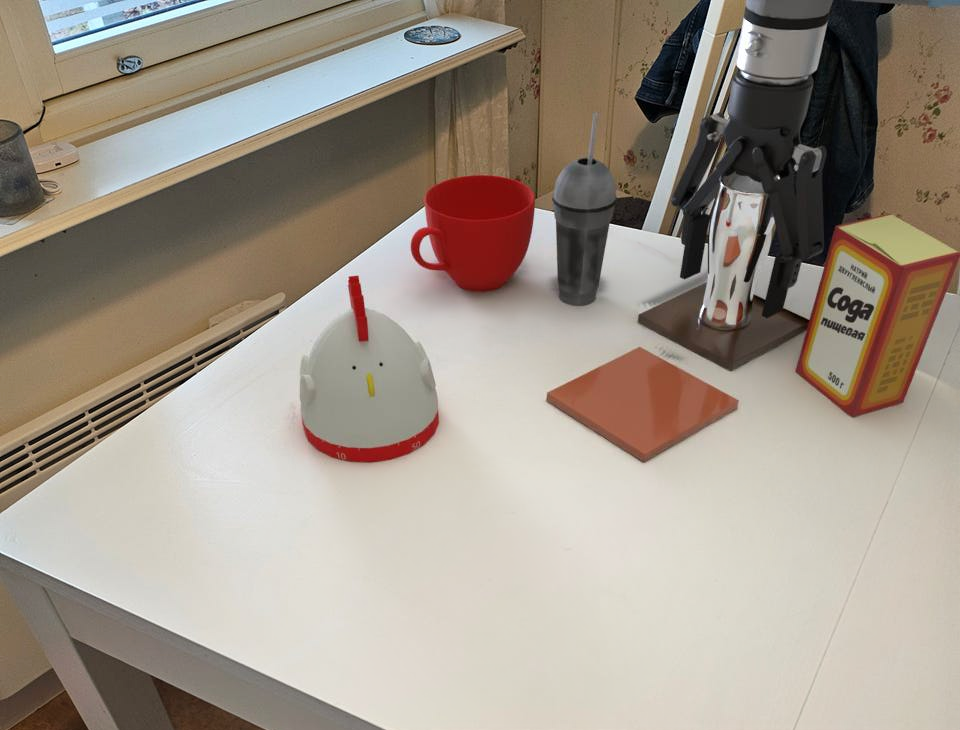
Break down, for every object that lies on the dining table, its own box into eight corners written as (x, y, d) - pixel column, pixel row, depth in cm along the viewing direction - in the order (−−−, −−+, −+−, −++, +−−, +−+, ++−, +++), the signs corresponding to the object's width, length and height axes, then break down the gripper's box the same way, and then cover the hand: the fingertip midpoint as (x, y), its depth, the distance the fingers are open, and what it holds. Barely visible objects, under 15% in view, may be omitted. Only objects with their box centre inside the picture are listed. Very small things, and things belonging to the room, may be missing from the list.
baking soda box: (795, 371, 97) (836, 221, 86) (843, 358, 99) (891, 209, 87) (852, 417, 92) (905, 263, 80) (903, 402, 93) (962, 249, 81)
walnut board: (810, 328, 103) (812, 320, 103) (731, 371, 98) (732, 363, 97) (716, 284, 111) (717, 276, 110) (637, 322, 105) (638, 314, 104)
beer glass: (695, 299, 106) (718, 165, 95) (755, 305, 105) (786, 169, 94) (692, 329, 102) (716, 191, 90) (755, 335, 101) (787, 196, 89)
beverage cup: (535, 300, 109) (542, 118, 94) (567, 276, 112) (578, 98, 98) (588, 317, 106) (603, 132, 91) (618, 292, 110) (637, 111, 95)
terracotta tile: (737, 408, 93) (739, 400, 92) (643, 462, 87) (645, 454, 86) (638, 354, 100) (639, 346, 99) (545, 400, 94) (546, 392, 94)
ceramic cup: (383, 289, 111) (375, 206, 103) (483, 246, 118) (482, 165, 111) (452, 328, 104) (449, 242, 97) (554, 279, 112) (558, 196, 105)
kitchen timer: (309, 470, 87) (281, 327, 76) (298, 392, 96) (272, 254, 85) (450, 451, 89) (443, 307, 77) (427, 376, 98) (418, 238, 86)
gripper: (655, 52, 90) (630, 267, 106) (857, 114, 77) (794, 346, 94) (705, 37, 93) (674, 248, 109) (907, 94, 80) (838, 322, 97)
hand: (729, 293), depth 101 cm, fingers open, 11 cm apart
